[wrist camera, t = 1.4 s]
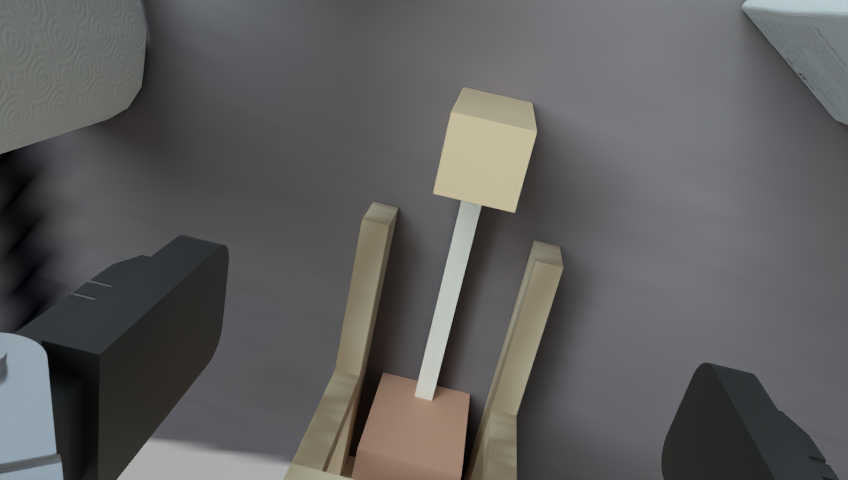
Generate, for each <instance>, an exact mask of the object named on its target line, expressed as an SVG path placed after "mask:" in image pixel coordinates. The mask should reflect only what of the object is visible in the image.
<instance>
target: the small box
mask: <svg viewBox="0 0 848 480" xmlns="http://www.w3.org/2000/svg"><path fill="white" fill-rule="evenodd" d="M742 10H743V11H744V12H745V13H746V14H747V16H748V17H749V18H750V19H751V20H752V21H753V23H754V24H755V25H756V26H757V27H758V28H759V30H760V31H761V32H762V33H763V34H764V36H765V37H766V38H767V39H768V41H769V42H770V43H771V44H772V45H773V46H774V47H775V49H776V50H777V51H778V52H779V53H780V55H781V56H782V57H783V58H784V59H785V60H786V61H787V63H788V64H789V65H790V66H791V68H792V69H793V70H794V71H795V72H796V74H797V75H798V76H799V77H800V78H801V80H802V81H803V82H804V83H805V84H806V86H807V87H808V88H809V89H810V91H811V92H812V93H813V94H814V96H815V97H816V98H817V99H818V100H819V102H820V103H821V104H822V105H823V106H824V108H825V109H826V110H827V111H828V112H829V114H830V115H831V116H832V117H833V118H834V119H835V120H836V121H839V122H841V123H844V124H846V125H848V0H747V1H746V2H745V3H744V4H743V5H742Z"/></svg>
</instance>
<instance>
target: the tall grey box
mask: <svg viewBox="0 0 848 480" xmlns="http://www.w3.org/2000/svg"><path fill="white" fill-rule="evenodd" d="M146 33H147V31H146V28H145V25H144V21H143V18H142V15H141V12H140V8H139V5H138V2H137V0H0V154H1V153H5V152H8V151H11V150H14V149H17V148H20V147H23V146H26V145H30V144H33V143H36V142H39V141H42V140H45V139H48V138H51V137H55V136H58V135H61V134H64V133H67V132H70V131H73V130H77V129H80V128H83V127H86V126H89V125H92V124H95V123H98V122H102V121H105V120H108V119H110V118H111V117H113V116H115V115H117V114H118V113H120V112H122V111H124V110H125V109H127V108H128V107H129V106H130V104H131V103H132V101H133V100H134V98H135V97H136V95H137V93H138V92H139V90H140V89H141V87H142V80H143V71H144V62H145V48H146Z"/></svg>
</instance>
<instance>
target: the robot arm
mask: <svg viewBox="0 0 848 480" xmlns="http://www.w3.org/2000/svg"><path fill="white" fill-rule="evenodd" d="M228 263H229V253H228V249H227V247H226V246H225V245H221V244H217V243H213V242H209V241H205V240H200V239H196V238H192V237H188V236H184V235H181V236H178V237H177V238H175V239H174V240H173V241H171V242H170V243H169V244H168V245H166V246H165V247H164V248H162V249H161V250H160V251H158V252H157V253H156V254H154V255H153V256H152V257H148V256H144V255H141V256H138V257H135V258H132V259H129V260H125V261H122V262H119V263H116V264H113V265H111V266H110V267H108V268H107V269H105V270H104V271H103V272H101V273H100V274H98V275H97V276H95V277H94V278H93V279H91V282H90V283H88V282H87V283H85V284H84V285H83V286H81V287H80V288H78V289H77V290H76V291H74V293H73V295H68V296H67V297H66V298H64V299H63V300H61V301H60V302H58V303H57V304H56V305H54V306H53V307H51V308H50V309H48V310H47V311H46V312H44V313H43V314H41V315H40V316H39V317H37V318H36V319H34V320H33V321H31V322H30V323H29V324H27V325H26V326H24V327H23V328H21V329H20V330H19V331H17V332H16V333H14V334H8V333H0V480H117V478H118V477H119V476H120V474H121V473H122V472H123V471H124V469H125V468H126V467H127V466H128V464H129V463H130V462H131V460H132V459H133V458H134V457H135V456H136V454H137V453H138V452H139V451H140V449H141V448H142V447H143V445H144V444H145V443H146V442H147V440H148V439H149V438H150V437H151V435H152V434H153V433H154V432H155V430H156V429H157V428H158V426H159V425H160V424H161V423H162V421H163V420H164V419H165V418H166V416H167V415H168V414H169V413H170V411H171V410H172V409H173V408H174V406H175V405H176V404H177V402H178V401H179V400H180V399H181V397H182V396H183V395H184V394H185V392H186V391H187V390H188V389H189V387H190V386H191V385H192V383H193V382H194V381H195V380H196V378H197V377H198V376H199V375H200V373H201V372H202V371H203V370H204V368H205V367H206V366H207V365H208V363H209V362H210V360H211V359H212V357H213V355H214V353H215V350H216V348H217V345H218V342H219V339H220V335H221V330H222V323H223V313H224V303H225V293H226V283H227V273H228ZM825 461H826V460H825V458H824V457H823V455H822V454H821V452H820V451H819V449H818V448H817V447H816V445H815V444H814V442H813V441H812V439H811V438H810V436H809V435H808V434H807V433H806V432H804V431H803V430H802V429H801V428H800V427H799V426H798V425H797V424H795V423H794V422H793V421H792V420H791V419H790V418H789V417H787V416H786V415H785V414H784V413H783V412H782V411H778V409H777V408H776V406H775V405H774V403H773V402H772V400H771V399H770V397H769V395H768V394H767V392H766V391H765V389H764V388H763V386H762V385H761V383H760V382H759V380H758V379H757V377H756V376H755V375H754V374H752V373H748V372H744V371H740V370H736V369H731V368H727V367H723V366H719V365H715V364H711V363H703V364H701V365H700V366H699V367H698V368H697V369H696V371H695V373H694V375H693V377H692V379H691V381H690V383H689V386H688V388H687V390H686V393H685V395H684V397H683V399H682V402H681V404H680V406H679V409H678V411H677V413H676V415H675V418H674V420H673V422H672V425H671V427H670V429H669V431H668V434H667V436H666V439H665V442H664V446H663V451H662V473H663V477H664V480H839V479H838V477H837V476H836V474H835V473H834V471H833V470H832V468H831V467H830V466H829V465H826V464H825Z"/></svg>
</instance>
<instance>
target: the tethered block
mask: <svg viewBox="0 0 848 480" xmlns="http://www.w3.org/2000/svg"><path fill="white" fill-rule="evenodd" d="M536 134H537V127H536V122H535V116H534V110H533V104H532V103H531V102H526V101H522V100H518V99H513V98H509V97H505V96H500V95H496V94H492V93H487V92H483V91H479V90H474V89H470V88H466V87H463V89H462V91H461V93H460V95H459V97H458V99H457V101H456V103H455V105H454V107H453V109H452V111H451V115H450V119H449V124H448V128H447V133H446V137H445V142H444V146H443V151H442V155H441V160H440V164H439V169H438V173H437V178H436V182H435V187H434V191H433V194H437V195H441V196H445V197H449V198H454V199H458V200H462V201H461V205H460V209H459V213H458V217H457V221H456V226H455V230H454V234H453V238H452V242H451V246H450V250H449V255H448V259H447V263H446V267H445V271H444V275H443V280H442V284H441V288H440V292H439V296H438V300H437V304H436V309H435V313H434V317H433V321H432V325H431V329H430V334H429V338H428V342H427V346H426V350H425V354H424V359H423V363H422V367H421V371H420V375H419V379H418V381H416V380H412V379H408V378H404V377H400V376H396V375H392V374H388V373H384V372H383V375H382V378H381V381H380V384H379V386H378V389H377V392H376V395H375V398H374V401H373V404H372V407H371V410H370V413H369V416H368V419H367V422H366V425H365V428H364V431H363V434H362V437H361V440H360V443H359V446H358V449H357V453H356V458H355V463H354V468H353V473H352V477H351V479H354V480H460V479H461V476H462V467H463V457H464V448H465V438H466V429H467V419H468V410H469V400H470V394H468V393H464V392H460V391H456V390H452V389H448V388H444V387H440V386H436V383H437V379H438V375H439V371H440V368H441V364H442V360H443V356H444V352H445V348H446V344H447V340H448V336H449V332H450V328H451V324H452V320H453V316H454V312H455V309H456V305H457V301H458V297H459V293H460V289H461V285H462V281H463V277H464V273H465V269H466V265H467V261H468V257H469V253H470V250H471V246H472V242H473V238H474V234H475V230H476V226H477V222H478V218H479V214H480V210H481V206H482V205H483V206H487V207H492V208H496V209H500V210H504V211H508V212H513V213H515V210H516V207H517V203H518V199H519V196H520V192H521V189H522V185H523V181H524V178H525V174H526V171H527V167H528V163H529V160H530V156H531V152H532V149H533V145H534V142H535V138H536Z"/></svg>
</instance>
